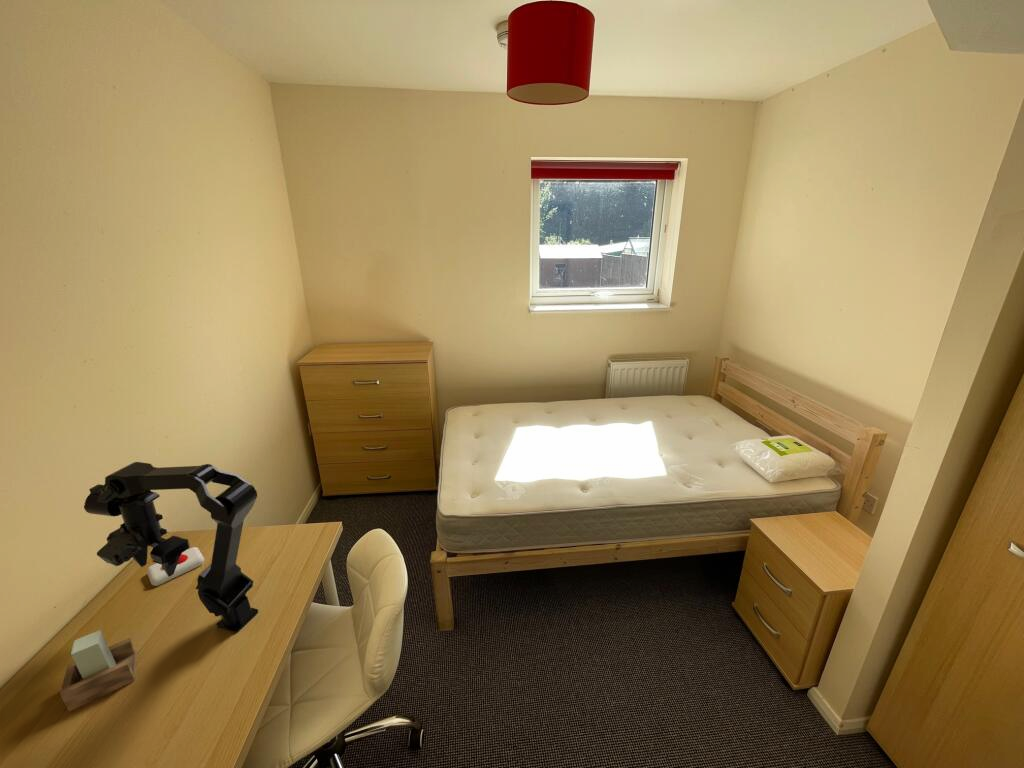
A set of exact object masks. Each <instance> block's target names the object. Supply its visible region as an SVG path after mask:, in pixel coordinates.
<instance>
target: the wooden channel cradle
mask: <svg viewBox="0 0 1024 768" xmlns="http://www.w3.org/2000/svg"><path fill="white" fill-rule="evenodd" d="M134 646H135V645H134V644H133V641H132V640H131V638H130V637H128V638H126V639H124V640H121V641H119V642H117V643H115V644H112V645H110V646H108V647H109V649H110V651H111V653H112V655H113V658H114V660H115V662H116V665H115V666H113V667H111V668H109V669H106V670H104V671H102V672H100V673H98V674H95V675H93V676H91V677H89V678H87V679H84V680H83V678H82V676H81V674H80V672H79V670H78V668H77V666H76V664H75V662H74V661H72V662H71V663H68V664H67V665H66V670H65V674H64V677H63V682H62V686H61V690H60V694H59V695H60V697H61V700H62V701H63V703H64V705H65V707H66V709H67V710H68V712H69V713H70V712H72V711H74V710H76V709H78V708H80V707H83V706H84V705H86V704H89V703H91V702H93V701H95V700H97V699H99V698H101V697H103V696H106V695H108V694H109V693H112V692H114V691H116V690H118V689H121V688H122V687H124V686H126V685H128V684H131V683H134V681H135V678H136V677H135V676H136V668H137V666H136V665H137V651H136V649H135V647H134Z"/></svg>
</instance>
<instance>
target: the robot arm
mask: <svg viewBox="0 0 1024 768" xmlns="http://www.w3.org/2000/svg"><path fill="white" fill-rule="evenodd" d="M209 483H212V484H213V483H215V484H220V485H223V486H228V487H227V488H226V489H225V490H224V491H222V492H220V493H219V494H218V495H216V496H215V497H214V496H213V495H211V494H210V493H209V491H208V487H207V485H208V484H209ZM157 490H158V491H159V490H160V491H161V490H167V491H168V490H190V491H191V492H193V493H194V494H195V496H196V498H197V501H198V502H199V505H200V507H201V508H203V510H205V511H207V512H209V513H210V518H211V519H212V520H213V521H214V522H215V523H216V528H215V529H216V530H215V537H214V543H213V549H212V550H213V551H212V556H211V563H210V565H209V566H207V567H206V568H205V569H204V570H203V571H202V572H201V573H199V575H198V576H197V585H196V587H195V590H197V595H198V598H199V600H200V601H201V603H202V605H203V606H204V607H205V608H206V610H207V611H208V612H209V614H214V617H220V618H221V619H220V621H218V622H217V624H216V627H217V628H220V629H222V630H225V631H229V632H232V633H235V634H236V633H238V632H239V631H240V630H241V629H242V628H244V627H245V626H246V624H248V623H249V622H250V621H251V619H252V618H254V617H255V616H256V615H257V614H258V613H259V609H257V608H254V607H251V604H250V601H249V597H248V596H247V593H248V592H249V591H250V590H251V589H253V586H254V580H253V579H251V578H250V577H249V576H247V575H246V574H245V573H244V572H242V568H241V566H240V565H238V564H237V558H238V554H239V548H240V542H241V537H242V532H243V526H244V521H245V519H246V518H247V516H248V514H249V513H250V511H251V510H252V509H253V507H254V505H255V503H256V502H257V501H256V500H257V499H258V498H257V497H258V491H257V490H256V489H255V486H254V485H253V484H251V483H250V482H248V481H247V480H246V479H244V478H243V477H241V476H240V475H238V474H237V473H232V472H228V471H224V470H220V469H218V468H217V467H215V466H214V465H213V464H210V463H205V464H200V465H189V466H168V467H167V466H166V467H165V466H164V467H162V466H161V467H155V466H153V465H152V463H149V462H148V463H147V462H141V461H134V462H131V463H130V464H127V465H125V466H124V467H122V468H120V469H118V470H116V471H114V472H112V473H111V474H108V475H107V476H105V477H104V484H99V483H98V484H96V485H94V486H93V487H90V488H89V495H87V497H86V498H85V501H84V505H83V509H84V511H85V512H86V513H88V514H90V515H100V516H106V517H119V516H121V517H122V520H123V523H121V524H120V527H119V528H118V529H115V530H114V531H112V532H110V533H109V534H108V536H107V537H106V542H107V543H106V544H104V546H102V547H101V548H100V549H98V551H97V552H96V556H98V557H99V558H100V559H101V560H103V561H104V562H105V563H106V564H110V565H113V566H114V567H119V566H122V565H123V564H124V563H127V562H129V561H130V560H131V559H133V560H134V561H135V562H136V563H137V564H138V565H139V567H140V568H143V567H145V566H146V565H147V564H148V563H147V562H148V549H149V547H151V548H152V549H151V551H150V553H149V555H150V558H151V559H152V561H151V562H152V563H154V564H156V563H158V564H161V565H162V567H163V569H164V570H165V572H166V574H167V575H168V576H169V577H170V576H171V575H173V574H174V572H175V569H176V566H177V563H178V561H179V558H180V556H181V554H182V553H183V552H184V551H186V550H188V549H190V548H191V545H190V542H189V539H187V538H185V537H181V536H178V535H172V536H170V537H168V538H163V536H164V535H166V534H168V530H167V529H166V528H163V527H161V523H160V521H161V520H163V519H164V518H163V514H160V513H157V510H156V506H155V503H154V502H155V500H157V499H159V497H161V496H160V494H159V493H157V492H155V491H157Z"/></svg>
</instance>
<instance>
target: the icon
mask: <svg viewBox="0 0 1024 768" xmlns="http://www.w3.org/2000/svg"><path fill="white" fill-rule="evenodd" d="M204 562H205V557H204V556H203V554H202V553H201V551H200V549H199V548H198V547H197V546H196V547H195V546H193V547H189V549H187V550H186V551H184V552H183V553H182V554H181V556H180V558H179V561H178V563H177V566H176V569H175V572H174V574H173V575H171V576H170V577H169V576H168V575H167V574H166V572H165V570H164V569H163V567H162V565H161V564H158V563H154V564H152V565H150V566H148V568H147V569H146V575H147V576H148V579H149V582H150V584H151V585H152V586H154V587H158V586H160V585H163V584H165V583H167V582H169V581H170V580H173V579H175V578H177V577H180V576H181V575H184V574H185V573H188V572H189V571H192V570H194V569H196V568H198V567H201V566H203V564H204Z"/></svg>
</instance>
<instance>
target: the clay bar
mask: <svg viewBox="0 0 1024 768" xmlns="http://www.w3.org/2000/svg"><path fill="white" fill-rule="evenodd" d="M109 647H110V646H109V645H108V643H107V641H106V638H105V636H104V634H103V632H102V629H99V630H97V631H94V632H91V633H89V634H86V635H84V636H82V637H79V638H77V639H75V640H74V641H73V645H72V648H71V653H70V656H71V658H72V659H73V662H75V664H76V666H77V668H78V670H79V672H80V674H81V676H82V678H83V680H84V679H87V678H89V677H91V676H93V675H95V674H98V673H100V672H102V671H104V670H106V669H109V668H111V667H113V666H115V665H116V662H115V660H114V658H113V655H112V653H111V651H110V649H109Z"/></svg>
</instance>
